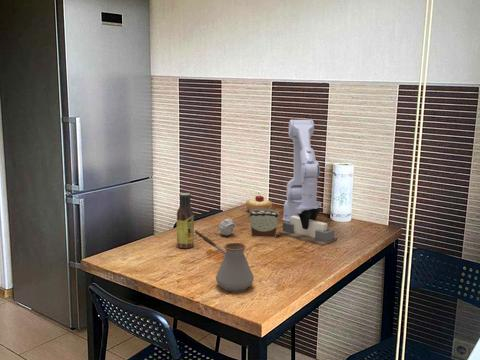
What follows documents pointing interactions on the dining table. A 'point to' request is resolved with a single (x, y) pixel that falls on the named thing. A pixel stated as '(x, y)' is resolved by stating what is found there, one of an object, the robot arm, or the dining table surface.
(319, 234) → the end caps
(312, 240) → the base board
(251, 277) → the coffee pot
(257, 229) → the food container
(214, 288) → the dining table surface
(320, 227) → the slat
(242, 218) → the dining table surface
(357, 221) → the dining table surface
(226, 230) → the crumpled paper ball
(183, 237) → the sauce bottle
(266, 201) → the pastry
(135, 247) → the dining table surface
